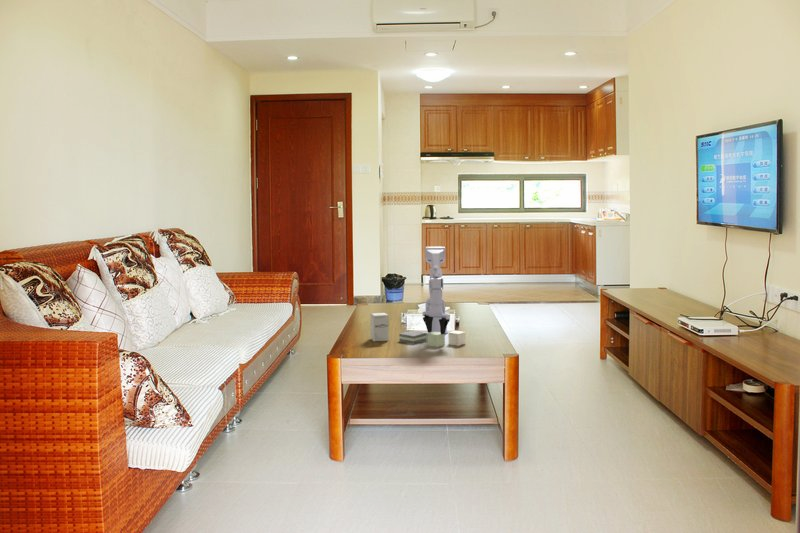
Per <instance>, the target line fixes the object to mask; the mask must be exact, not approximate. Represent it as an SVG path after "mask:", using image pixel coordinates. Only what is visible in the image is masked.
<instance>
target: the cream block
mask: <svg viewBox="0 0 800 533" xmlns="http://www.w3.org/2000/svg"><path fill="white" fill-rule="evenodd" d="M462 344H463V345H466V331H461V330H453V331H448V345H453V346H457V347H458V346H461V345H462Z"/></svg>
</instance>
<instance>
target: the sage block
mask: <svg viewBox="0 0 800 533" xmlns="http://www.w3.org/2000/svg"><path fill="white" fill-rule="evenodd" d="M445 334H446V333H445ZM445 334H441V332H432V333H428V334H427V346H429V347H436V348H438V347H442V346H445V345H446V344H445V343H446V339H445V338H446V337H445V336H446V335H445Z"/></svg>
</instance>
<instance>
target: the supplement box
mask: <svg viewBox="0 0 800 533" xmlns="http://www.w3.org/2000/svg"><path fill="white" fill-rule="evenodd" d="M369 314H370V316H369V317H370V340H371V341H373V342H374V343H376V342H386V341H387V342H388V341H389V340H390V339H389V336H390V335H389V332H390V330H389V325H390V324H389V319H390V318H389V316H390V315H389V314H387V313H386V312H376V313H375V312H373V313H369Z"/></svg>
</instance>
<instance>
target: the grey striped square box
mask: <svg viewBox="0 0 800 533" xmlns="http://www.w3.org/2000/svg"><path fill="white" fill-rule="evenodd" d="M398 339H399V342H402V343H408V344H413V345H414V344H419V343H422V342H427V334H426V333H425V332H424V331H422V332H421V331H415V330H409V331H405V332H401V333H399V336H398Z"/></svg>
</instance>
